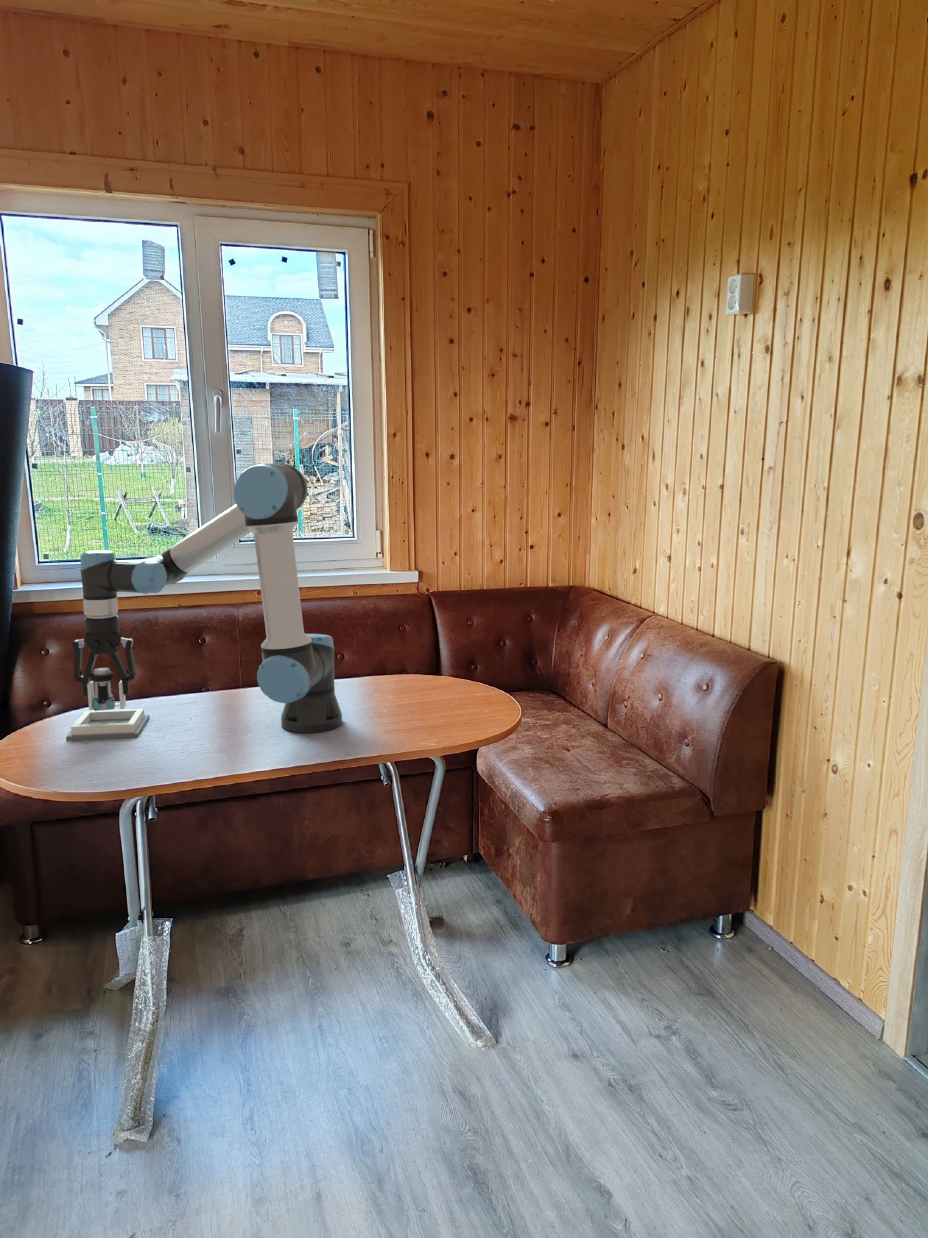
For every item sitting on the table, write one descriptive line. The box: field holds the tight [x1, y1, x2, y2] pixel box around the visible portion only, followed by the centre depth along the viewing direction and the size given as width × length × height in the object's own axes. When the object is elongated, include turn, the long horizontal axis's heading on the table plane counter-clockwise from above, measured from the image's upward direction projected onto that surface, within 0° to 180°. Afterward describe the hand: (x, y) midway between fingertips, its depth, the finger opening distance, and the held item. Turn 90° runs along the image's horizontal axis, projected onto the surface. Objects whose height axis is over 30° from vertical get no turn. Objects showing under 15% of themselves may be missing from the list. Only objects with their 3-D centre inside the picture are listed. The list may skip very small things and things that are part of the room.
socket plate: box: [65, 708, 150, 742], centre depth 207 cm, size 16×15×3 cm
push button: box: [90, 667, 120, 711], centre depth 206 cm, size 7×5×10 cm
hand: (107, 707), depth 207 cm, fingers closed on push button, 6 cm apart
